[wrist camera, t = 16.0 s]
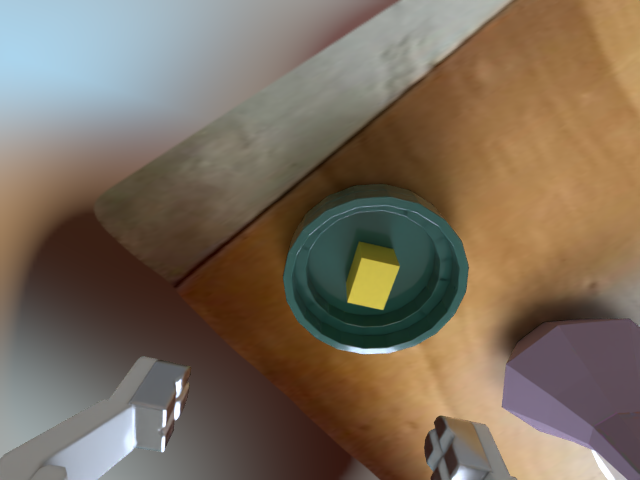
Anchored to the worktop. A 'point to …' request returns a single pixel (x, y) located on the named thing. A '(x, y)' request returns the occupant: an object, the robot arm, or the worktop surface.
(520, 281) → the worktop surface
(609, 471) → the milk
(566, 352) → the flask
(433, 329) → the bowl
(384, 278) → the yellow block
